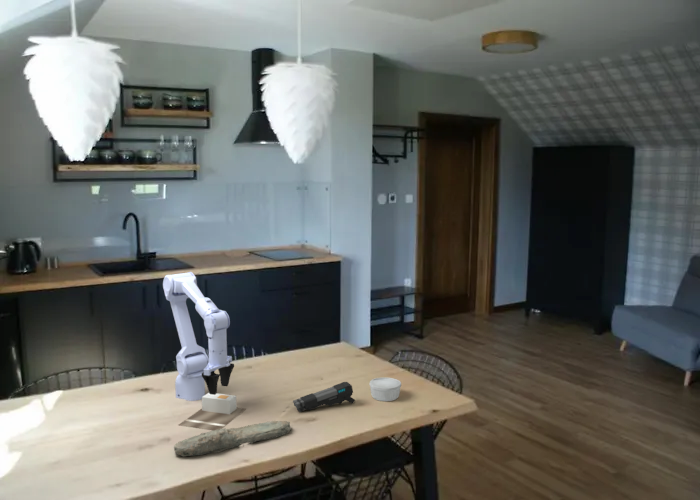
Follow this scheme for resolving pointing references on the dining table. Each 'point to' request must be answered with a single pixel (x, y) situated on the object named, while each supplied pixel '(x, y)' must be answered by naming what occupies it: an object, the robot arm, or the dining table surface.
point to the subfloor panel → (210, 419)
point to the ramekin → (385, 389)
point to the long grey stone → (230, 438)
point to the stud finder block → (219, 403)
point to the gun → (325, 397)
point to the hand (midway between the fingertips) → (218, 389)
